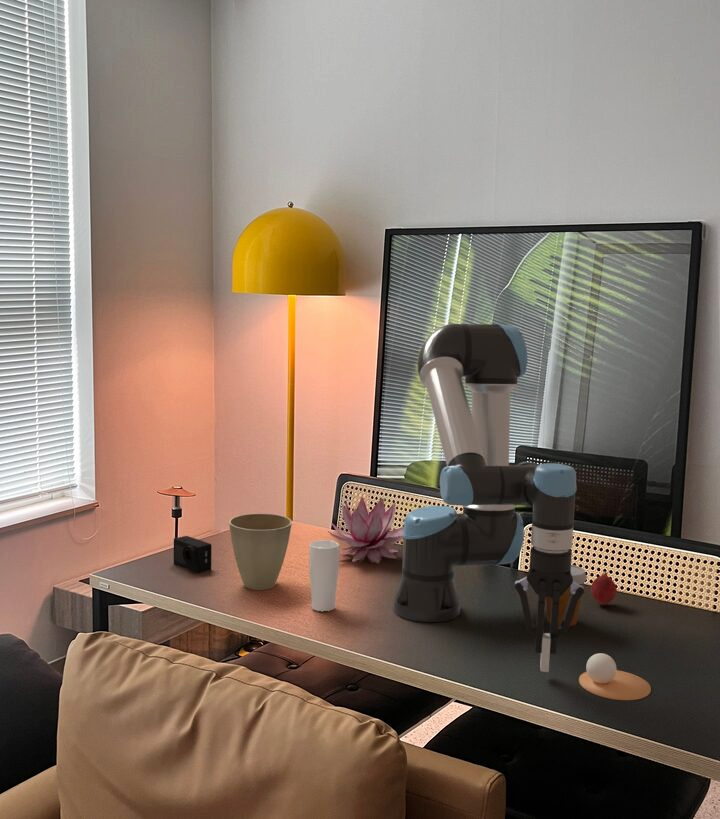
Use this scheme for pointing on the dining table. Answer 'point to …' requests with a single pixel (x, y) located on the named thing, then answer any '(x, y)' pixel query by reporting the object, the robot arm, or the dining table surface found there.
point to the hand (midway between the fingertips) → (544, 668)
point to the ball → (601, 668)
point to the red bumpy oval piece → (603, 589)
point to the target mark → (617, 686)
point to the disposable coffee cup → (579, 578)
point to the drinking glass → (323, 574)
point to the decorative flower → (369, 531)
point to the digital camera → (192, 554)
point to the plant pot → (260, 547)
